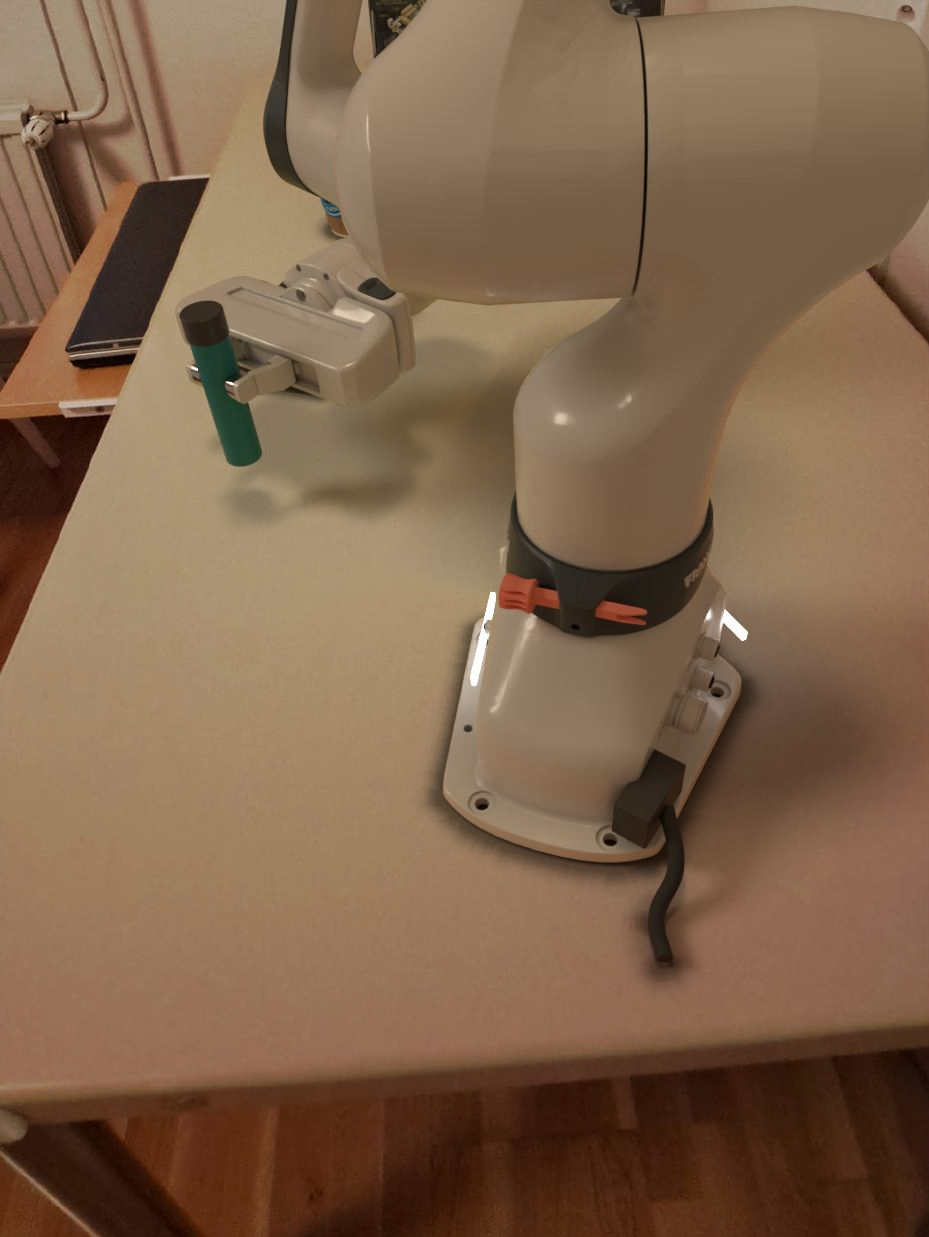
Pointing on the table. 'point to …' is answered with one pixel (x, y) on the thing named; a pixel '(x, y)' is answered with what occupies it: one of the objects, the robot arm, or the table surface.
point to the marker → (220, 380)
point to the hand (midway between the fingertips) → (213, 385)
